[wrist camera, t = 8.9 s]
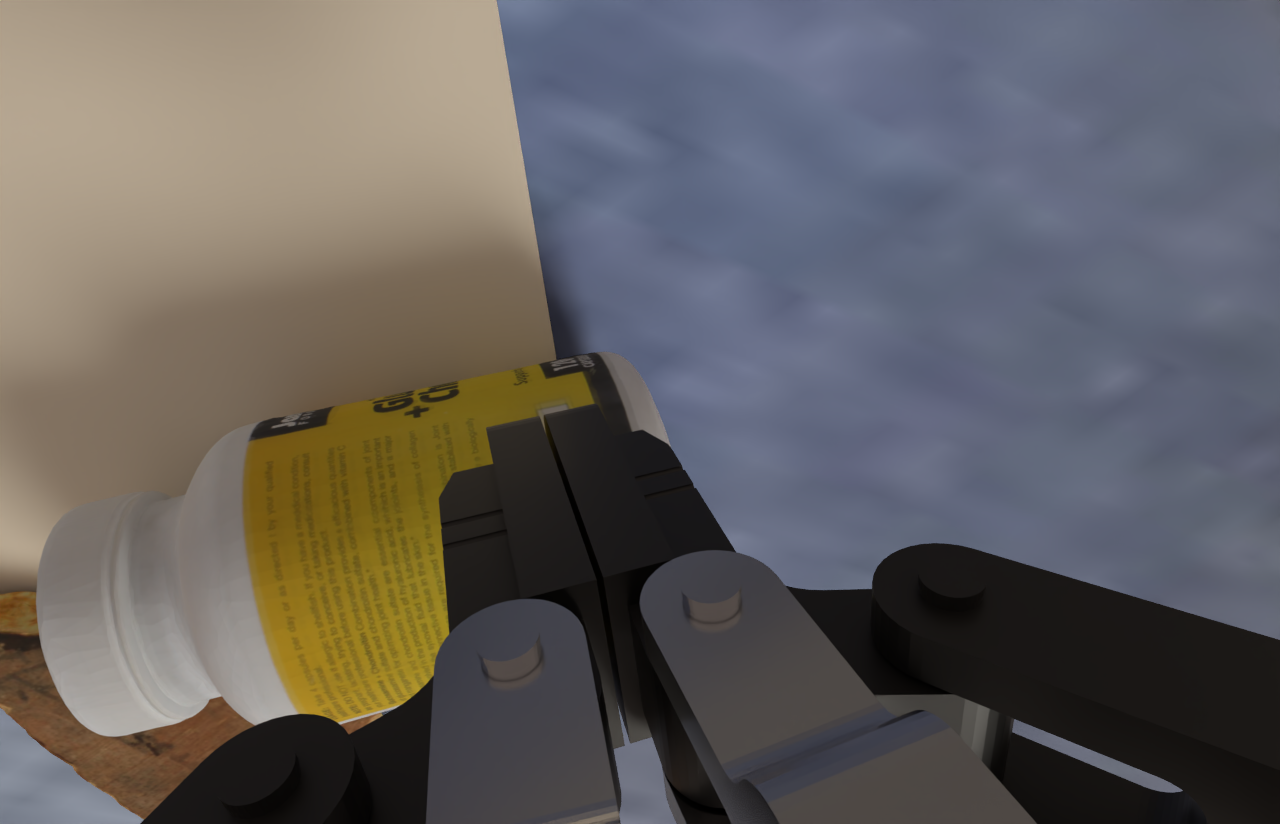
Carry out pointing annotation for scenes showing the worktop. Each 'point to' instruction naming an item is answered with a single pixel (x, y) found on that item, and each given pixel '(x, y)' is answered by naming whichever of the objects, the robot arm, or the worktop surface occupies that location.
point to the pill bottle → (291, 556)
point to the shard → (120, 766)
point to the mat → (242, 230)
